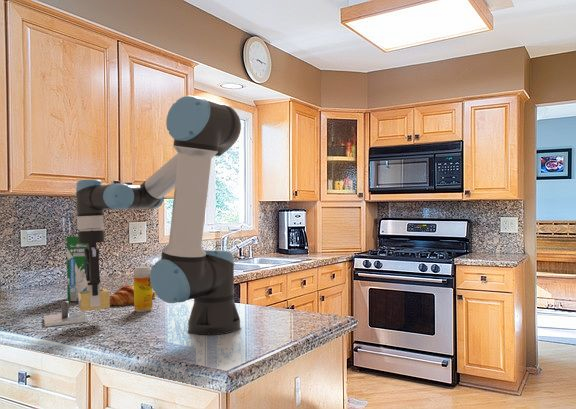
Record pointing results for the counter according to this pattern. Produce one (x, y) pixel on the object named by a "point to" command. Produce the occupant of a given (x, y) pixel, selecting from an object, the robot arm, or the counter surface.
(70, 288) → the milk carton
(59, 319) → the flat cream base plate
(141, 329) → the counter surface
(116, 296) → the croissant
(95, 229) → the robot arm
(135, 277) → the yellow bottle
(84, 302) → the yellow hollow block
